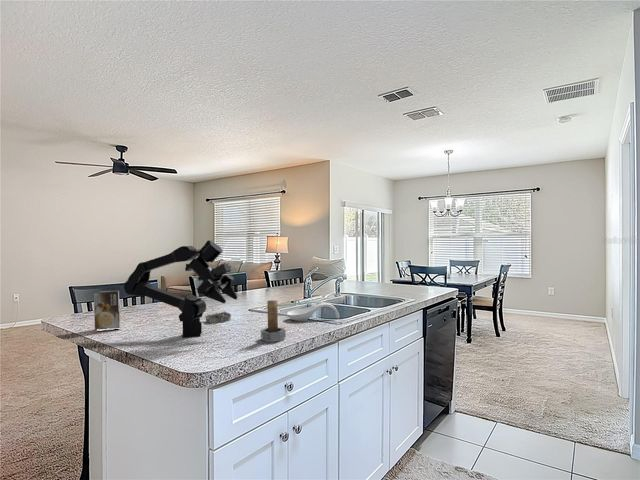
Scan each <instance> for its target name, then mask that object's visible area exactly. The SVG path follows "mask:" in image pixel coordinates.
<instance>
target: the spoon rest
mask: <svg viewBox="0 0 640 480" xmlns="http://www.w3.org/2000/svg"><path fill="white" fill-rule="evenodd" d="M323 307H327V308H331V309H332V310H333V312H334V313H335V314H334V315H335V317H336V318H335V319H337V320H339V319H340V313H339V311H338V310H337V308H336V307H335V305H333V304H331V303H328V302H320V303H317V304H314V305H312V306H308V307H305V308H299V309H293V310H289V311H287V313H286V316H287V317H288V318H289V319H290V320H292V321H294V322H295V321H296V322H306V321H308V320H309V319H310V318H311V317H312V316H313V315H314V314H315V312H317V311H318V310H319V309H321V308H323Z"/></svg>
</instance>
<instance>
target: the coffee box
mask: <svg viewBox="0 0 640 480" xmlns="http://www.w3.org/2000/svg"><path fill="white" fill-rule="evenodd" d="M93 307H94V308H93V310H94V311H93V312H94V315H93V316H94V331H95V330H97V329H107V328H120V329H121V312H120V290H119V289H115V290H100V291H95V292H94V293H93Z"/></svg>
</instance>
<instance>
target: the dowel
mask: <svg viewBox="0 0 640 480" xmlns="http://www.w3.org/2000/svg"><path fill="white" fill-rule="evenodd" d="M266 302H267V303H266V304H267V306H266V307H267V328H268V332H278V327H279V324H278V323H279V318H278V317H279V316H278V315H279V314H278V312H279V310H278V300H276V299H275V300H274V299H270V300H267V301H266Z"/></svg>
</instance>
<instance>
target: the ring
mask: <svg viewBox="0 0 640 480" xmlns="http://www.w3.org/2000/svg"><path fill="white" fill-rule="evenodd" d="M286 334H287V333H286V329H285V328H284V327H279V326H278V332H268V327H265V328H262V329H260V338H261V341H262V342H265V343H278V342H282V341H285V339H286V337H287V336H286Z"/></svg>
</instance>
